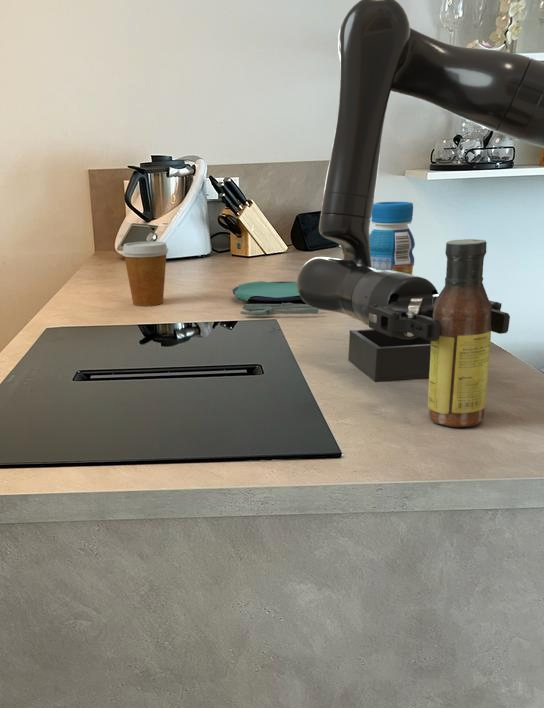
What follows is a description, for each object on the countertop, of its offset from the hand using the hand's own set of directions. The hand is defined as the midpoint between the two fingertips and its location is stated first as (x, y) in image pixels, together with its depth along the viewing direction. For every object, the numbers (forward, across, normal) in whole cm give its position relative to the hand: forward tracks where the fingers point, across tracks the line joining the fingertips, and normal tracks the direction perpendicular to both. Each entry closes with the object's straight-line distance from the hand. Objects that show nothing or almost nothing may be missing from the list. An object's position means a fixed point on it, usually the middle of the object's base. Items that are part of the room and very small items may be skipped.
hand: (472, 327), depth 84 cm
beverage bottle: (-52, +20, +11) cm, 57 cm away
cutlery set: (-77, +10, +11) cm, 79 cm away
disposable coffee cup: (-89, -14, +11) cm, 91 cm away
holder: (-24, +6, +11) cm, 27 cm away
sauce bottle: (-2, 0, +11) cm, 11 cm away
